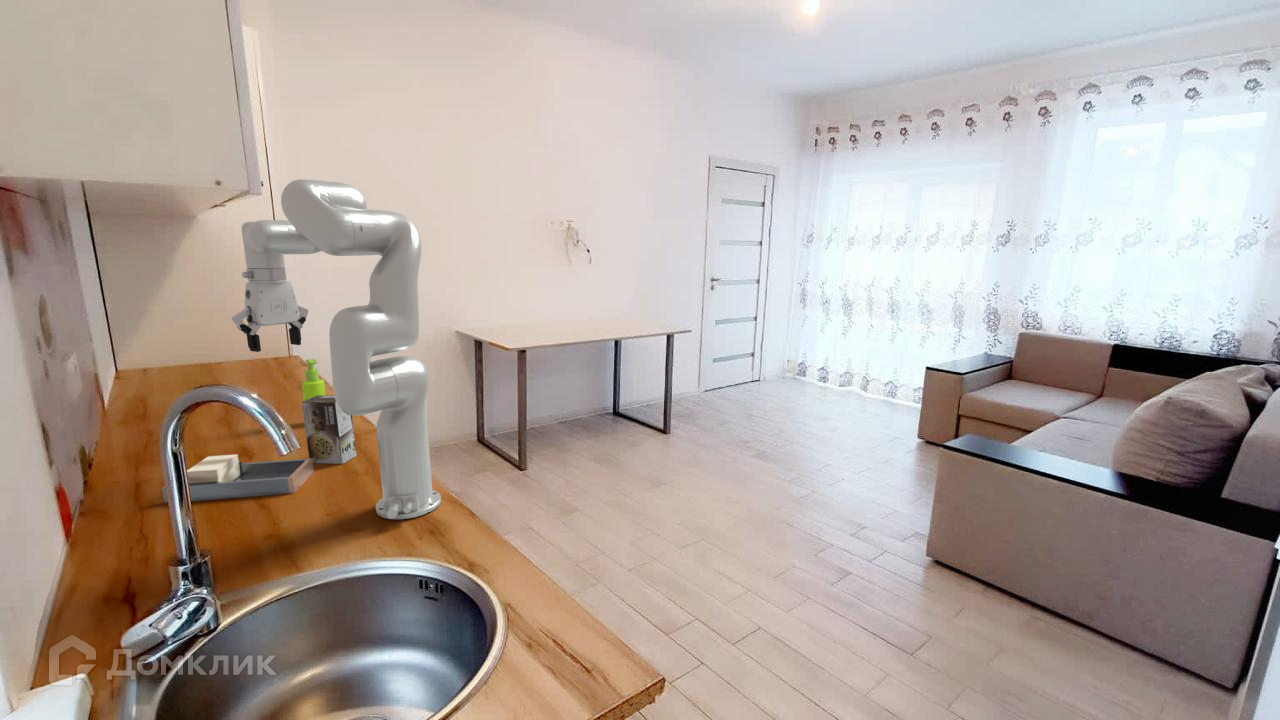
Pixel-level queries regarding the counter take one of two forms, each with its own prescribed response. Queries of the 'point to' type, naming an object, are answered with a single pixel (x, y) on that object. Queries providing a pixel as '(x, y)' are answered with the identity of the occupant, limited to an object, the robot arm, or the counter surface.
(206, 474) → the block
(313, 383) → the soap dispenser
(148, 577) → the counter surface
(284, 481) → the grey shallow rectangular tray
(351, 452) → the coffee box
